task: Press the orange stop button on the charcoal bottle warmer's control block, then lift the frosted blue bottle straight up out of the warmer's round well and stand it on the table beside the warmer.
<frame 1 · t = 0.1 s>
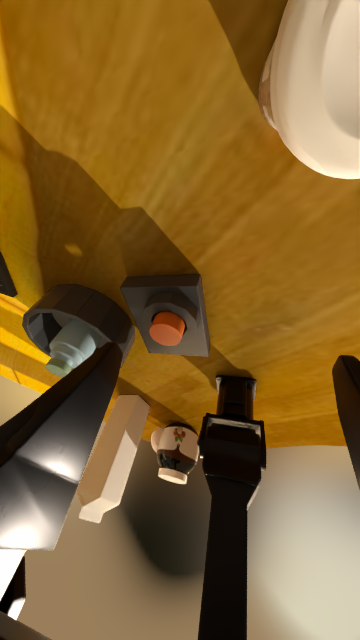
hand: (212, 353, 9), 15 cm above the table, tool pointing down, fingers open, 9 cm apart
bottle warmer: (91, 322, 34), on the table
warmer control: (172, 314, 29), on the table
stop button: (167, 329, 24), point 5 cm above the table, slide at 0.2 cm
milk: (135, 400, 53), on the table
sprinkles bottle: (298, 79, 13), on the table
spread jar: (177, 427, 60), on the table
bottle: (90, 323, 34), resting on bottle warmer
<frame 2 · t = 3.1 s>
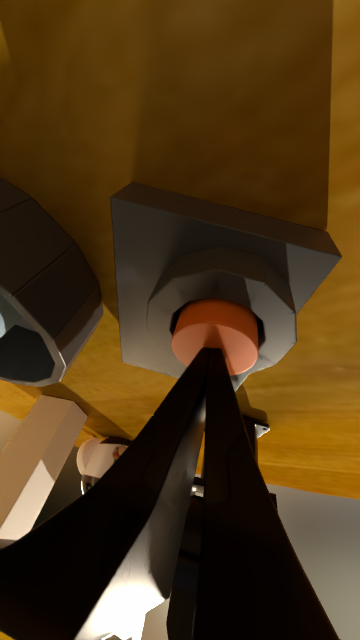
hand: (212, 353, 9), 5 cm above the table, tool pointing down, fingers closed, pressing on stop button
bottle warmer: (8, 273, 16), on the table
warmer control: (198, 303, 14), on the table
stop button: (215, 335, 10), point 4 cm above the table, slide at -0.4 cm, touching gripper
milk: (66, 404, 36), on the table
spread jar: (117, 441, 46), on the table
bottle: (5, 275, 16), resting on bottle warmer
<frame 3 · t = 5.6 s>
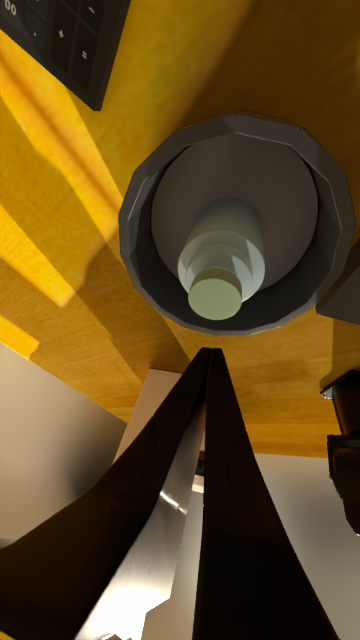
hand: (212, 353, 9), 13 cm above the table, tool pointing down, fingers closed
bottle warmer: (226, 232, 18), on the table
milk: (168, 379, 38), on the table
spread jar: (196, 420, 47), on the table
bottle: (226, 234, 18), resting on bottle warmer
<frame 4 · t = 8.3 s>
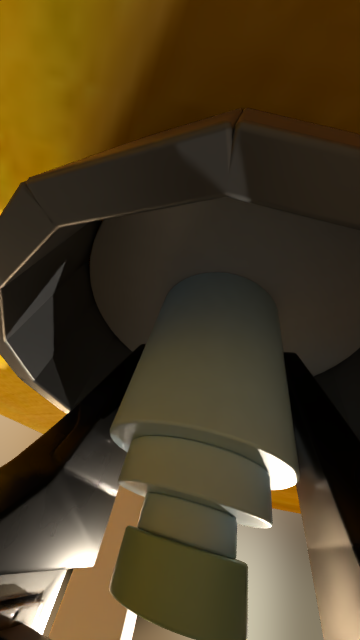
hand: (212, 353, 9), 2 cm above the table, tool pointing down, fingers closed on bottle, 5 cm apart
bottle warmer: (217, 315, 11), on the table
milk: (149, 442, 30), on the table
bottle: (217, 320, 10), resting on bottle warmer, touching gripper
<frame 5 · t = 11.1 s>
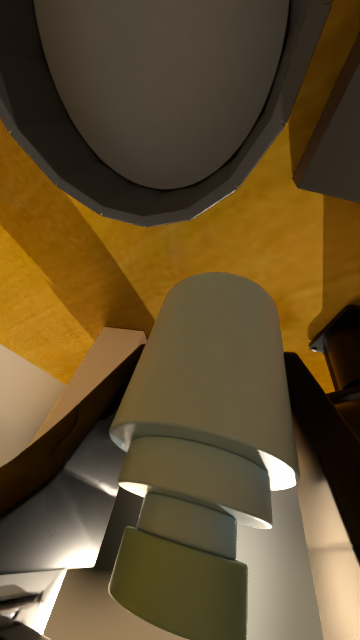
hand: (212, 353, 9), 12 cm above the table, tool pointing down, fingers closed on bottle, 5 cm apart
bottle warmer: (155, 50, 12), on the table
milk: (129, 341, 31), on the table
bottle: (217, 320, 10), point 10 cm above the table, touching gripper
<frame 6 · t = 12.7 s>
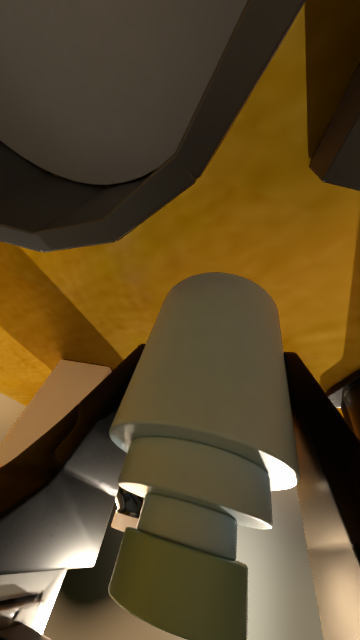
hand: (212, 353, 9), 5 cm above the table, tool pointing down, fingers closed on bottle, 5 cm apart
milk: (95, 375, 25), on the table
spread jar: (153, 431, 35), on the table
bottle: (217, 320, 10), point 3 cm above the table, touching gripper
when the fingers open (2 cm above the table, at t = 14.0 s): bottle stays where it is, on the table.
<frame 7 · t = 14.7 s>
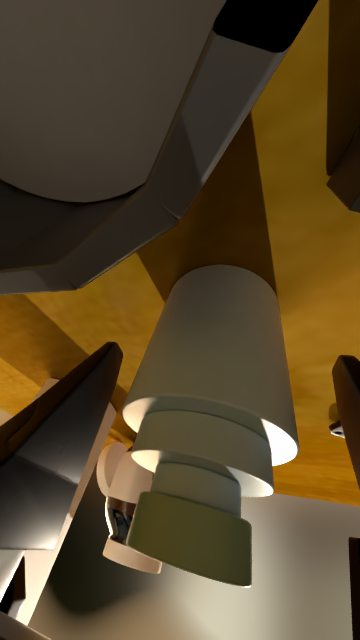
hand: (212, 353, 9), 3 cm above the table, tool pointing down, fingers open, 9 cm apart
milk: (86, 394, 24), on the table
spread jar: (149, 446, 34), on the table
bottle: (220, 311, 11), on the table
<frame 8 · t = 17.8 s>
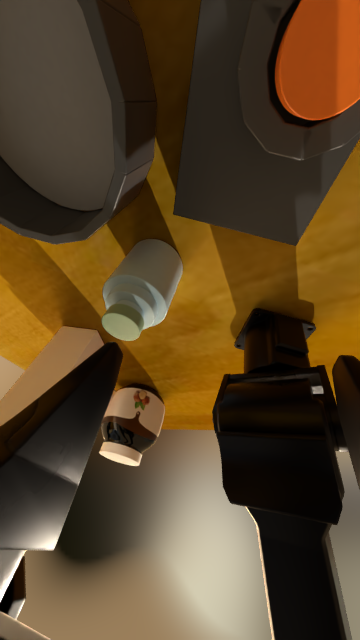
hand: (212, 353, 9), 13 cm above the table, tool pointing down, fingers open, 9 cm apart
bottle warmer: (52, 107, 15), on the table
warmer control: (270, 114, 13), on the table
stop button: (330, 52, 8), point 5 cm above the table, slide at 0.2 cm
milk: (87, 339, 34), on the table
spread jar: (135, 391, 44), on the table
bottle: (156, 264, 22), on the table
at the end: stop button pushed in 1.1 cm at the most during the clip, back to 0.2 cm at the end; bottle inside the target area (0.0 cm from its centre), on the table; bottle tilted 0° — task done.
